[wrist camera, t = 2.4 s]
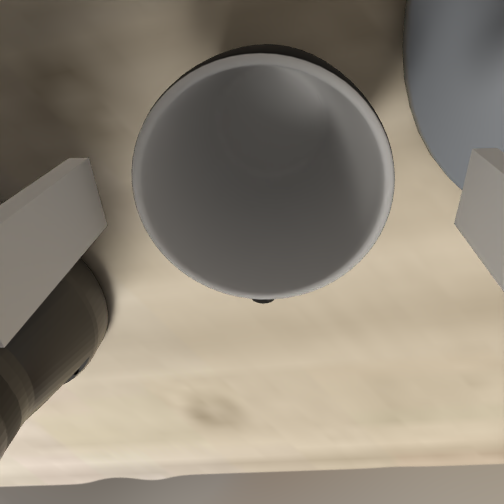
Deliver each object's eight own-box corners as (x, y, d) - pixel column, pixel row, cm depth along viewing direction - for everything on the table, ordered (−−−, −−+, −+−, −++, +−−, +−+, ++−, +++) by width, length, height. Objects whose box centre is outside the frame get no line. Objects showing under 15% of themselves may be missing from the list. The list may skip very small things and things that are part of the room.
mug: (183, 30, 20) (105, 50, 11) (364, 30, 19) (425, 51, 11) (200, 237, 26) (158, 350, 18) (337, 242, 26) (362, 361, 17)
